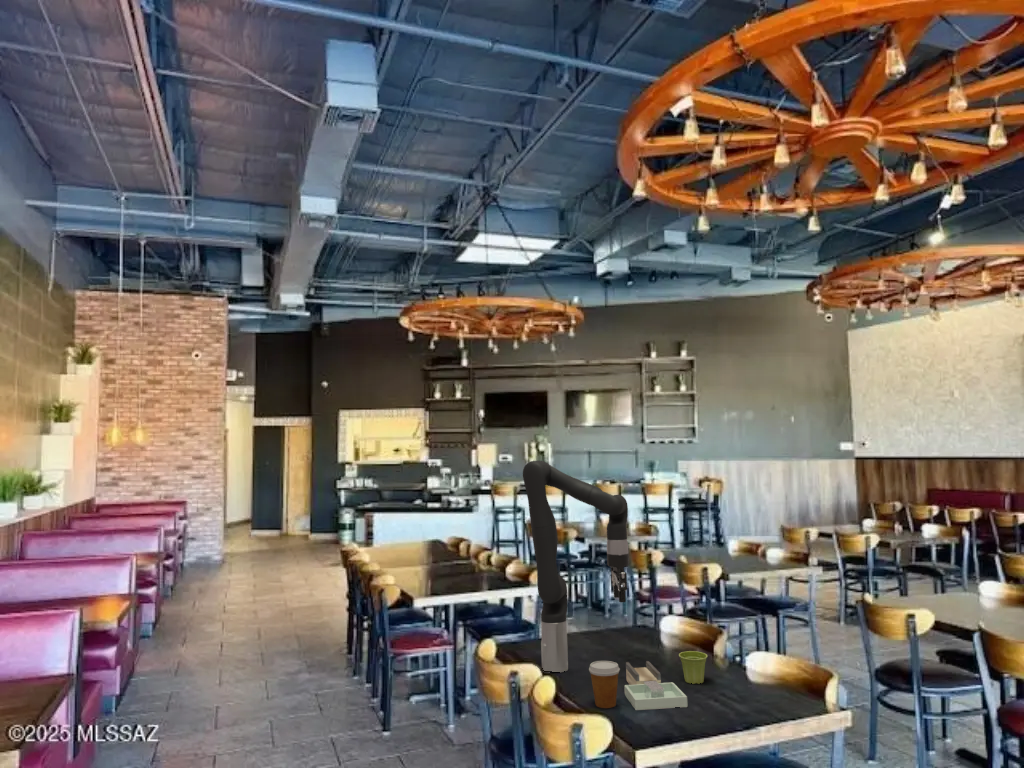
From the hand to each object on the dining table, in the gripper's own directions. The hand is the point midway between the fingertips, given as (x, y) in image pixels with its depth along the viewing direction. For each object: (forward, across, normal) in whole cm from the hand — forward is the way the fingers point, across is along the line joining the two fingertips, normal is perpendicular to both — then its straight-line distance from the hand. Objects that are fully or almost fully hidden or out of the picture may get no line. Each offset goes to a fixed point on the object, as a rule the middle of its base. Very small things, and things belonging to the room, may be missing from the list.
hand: (619, 599), depth 253 cm
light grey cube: (+25, +24, +4) cm, 35 cm away
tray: (+26, +26, +4) cm, 37 cm away
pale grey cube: (+23, +26, +4) cm, 35 cm away
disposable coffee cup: (+26, +27, -12) cm, 39 cm away
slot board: (+26, +12, +4) cm, 29 cm away
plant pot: (+26, +10, +22) cm, 36 cm away
